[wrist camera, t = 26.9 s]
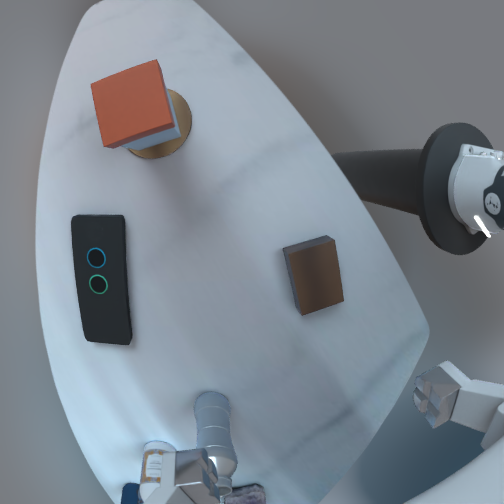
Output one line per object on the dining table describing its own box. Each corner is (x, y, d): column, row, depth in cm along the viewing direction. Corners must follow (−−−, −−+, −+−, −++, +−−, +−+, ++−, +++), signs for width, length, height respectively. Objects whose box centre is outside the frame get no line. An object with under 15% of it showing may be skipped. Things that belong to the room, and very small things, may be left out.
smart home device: (122, 216, 37) (131, 346, 43) (126, 214, 39) (133, 340, 44) (69, 216, 36) (84, 341, 41) (74, 214, 38) (87, 336, 43)
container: (184, 138, 37) (172, 93, 35) (172, 122, 24) (156, 58, 22) (137, 153, 37) (126, 109, 35) (103, 146, 23) (90, 83, 21)
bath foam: (173, 440, 52) (172, 520, 33) (178, 457, 54) (178, 531, 34) (141, 438, 51) (132, 516, 32) (148, 456, 52) (141, 528, 33)
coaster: (182, 79, 35) (181, 78, 35) (199, 145, 38) (199, 145, 38) (113, 102, 34) (112, 101, 34) (129, 168, 37) (128, 168, 37)
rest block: (326, 235, 44) (334, 239, 41) (336, 293, 47) (344, 301, 44) (282, 248, 44) (288, 253, 41) (296, 307, 47) (301, 315, 44)
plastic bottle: (207, 416, 51) (213, 503, 32) (186, 395, 49) (184, 487, 30) (236, 403, 51) (251, 492, 32) (216, 381, 49) (225, 475, 29)
